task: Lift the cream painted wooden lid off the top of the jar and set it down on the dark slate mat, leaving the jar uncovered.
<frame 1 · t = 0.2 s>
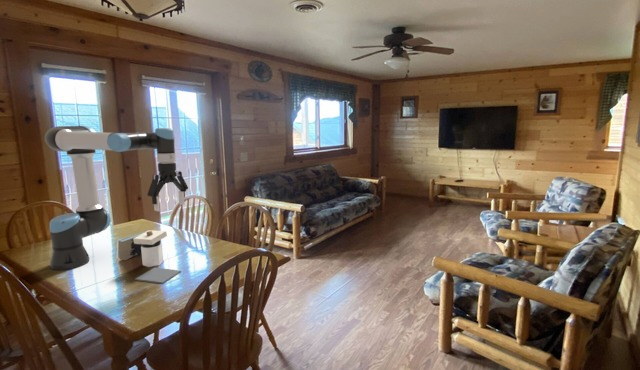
hand: (169, 207, 161), 27 cm above the table, fingers open, 13 cm apart
jar: (153, 263, 166), on the table, touching lid
lid: (150, 239, 163), point 12 cm above the table, tilted 6°, touching jar
mat: (158, 275, 152), on the table
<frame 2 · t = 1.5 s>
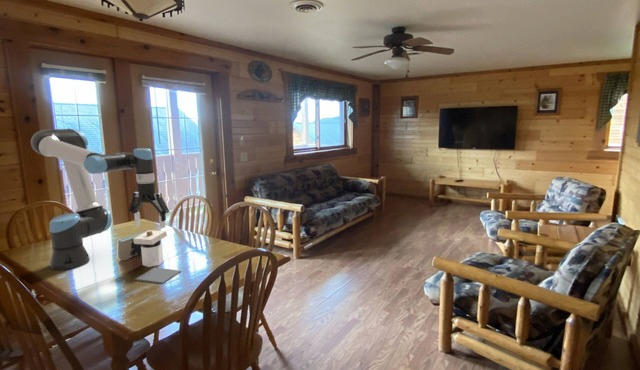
hand: (150, 227, 162), 18 cm above the table, fingers open, 13 cm apart
nothing on the table moved.
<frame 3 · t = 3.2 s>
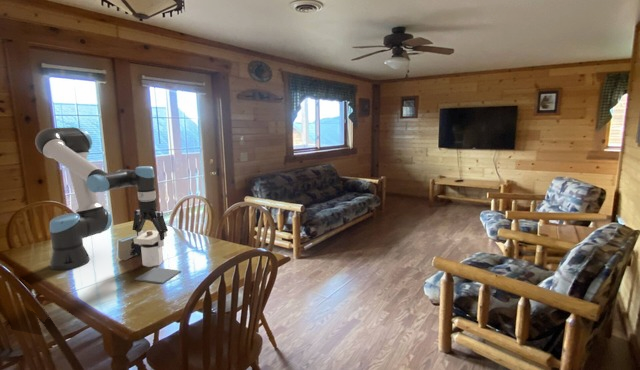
hand: (151, 245, 164), 9 cm above the table, fingers closed on lid, 10 cm apart
jar: (153, 263, 166), on the table
lid: (151, 239, 163), point 12 cm above the table, tilted 6°, touching gripper
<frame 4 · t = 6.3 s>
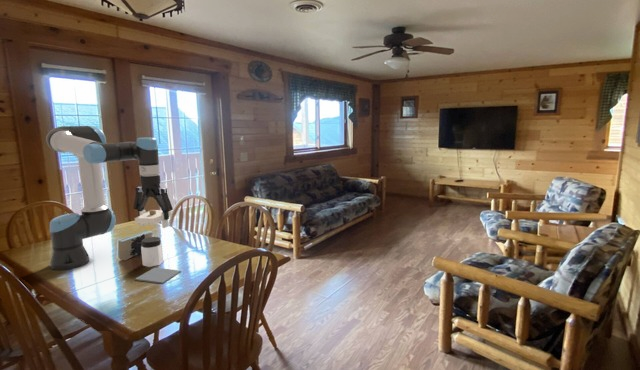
hand: (154, 226, 148), 23 cm above the table, fingers closed on lid, 10 cm apart
lid: (154, 219, 147), point 26 cm above the table, tilted 7°, touching gripper
everything else where it was.
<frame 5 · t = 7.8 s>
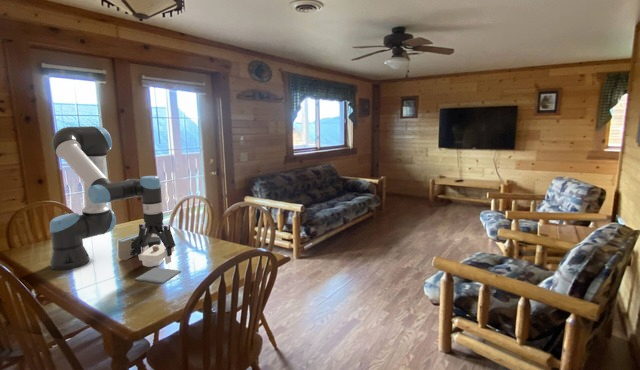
hand: (157, 261, 151), 7 cm above the table, fingers closed on lid, 10 cm apart
lid: (157, 255, 150), point 10 cm above the table, tilted 7°, touching gripper
everything else where it was.
when the fingers open (3 cm above the table, at t = 9.4 s): lid drops 5 cm, resting on mat.
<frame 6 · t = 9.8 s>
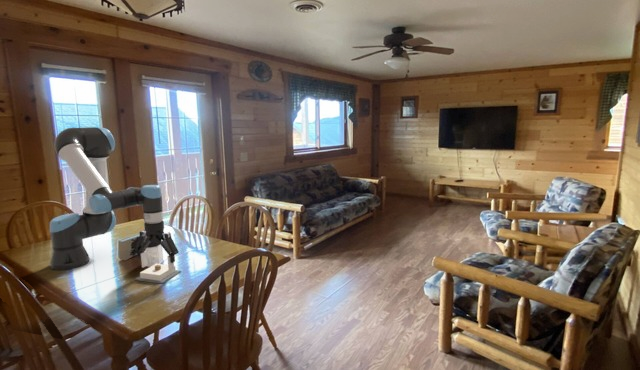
hand: (158, 267, 151), 4 cm above the table, fingers open, 13 cm apart
lid: (158, 274, 152), point 1 cm above the table, touching mat
everything else where it was.
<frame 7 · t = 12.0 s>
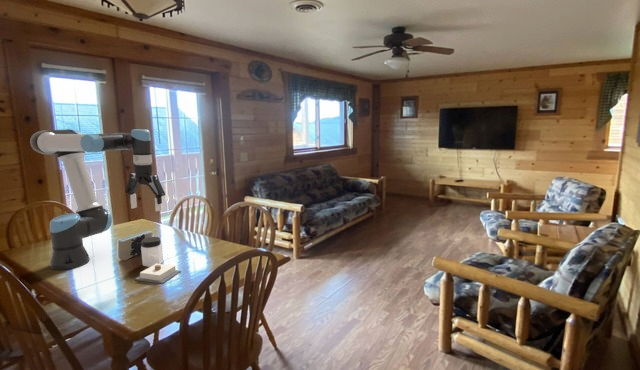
hand: (146, 209, 160), 27 cm above the table, fingers open, 13 cm apart
nothing on the table moved.
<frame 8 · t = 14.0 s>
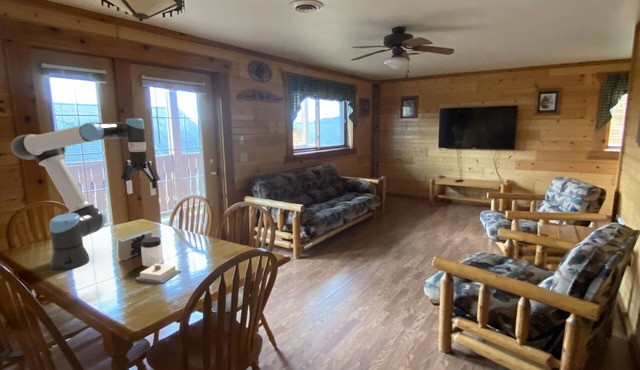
hand: (141, 194, 170), 32 cm above the table, fingers open, 13 cm apart
nothing on the table moved.
at the end: lid inside the target area on the mat (0.1 cm from its centre), point 0.6 cm above the mat's base; lid touching mat; jar moved 0.2 cm from its start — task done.
